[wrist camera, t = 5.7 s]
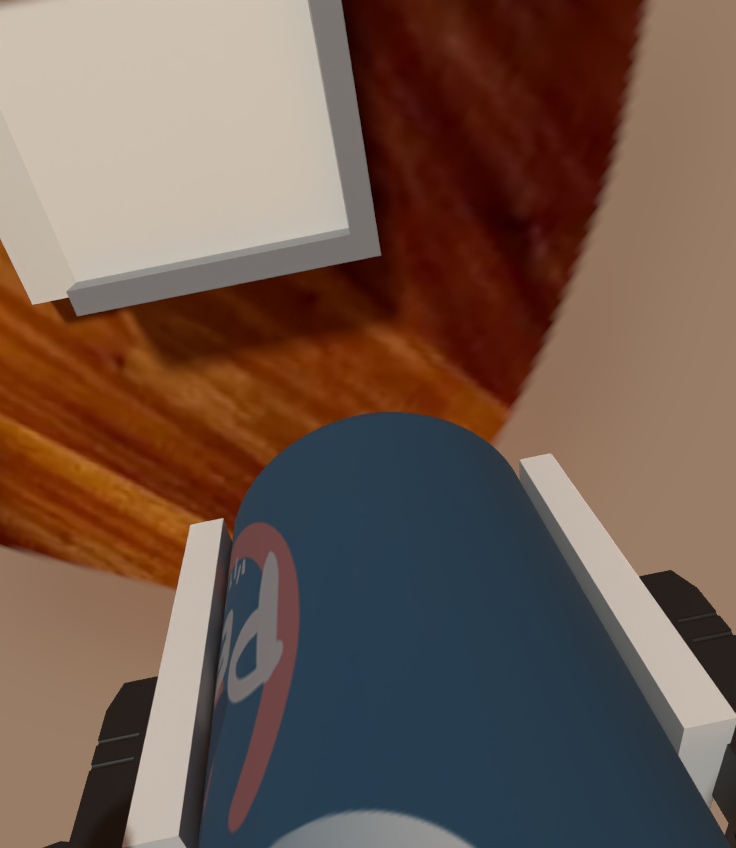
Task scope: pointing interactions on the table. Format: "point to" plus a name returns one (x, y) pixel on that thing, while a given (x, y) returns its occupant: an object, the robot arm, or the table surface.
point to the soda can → (423, 665)
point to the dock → (177, 146)
